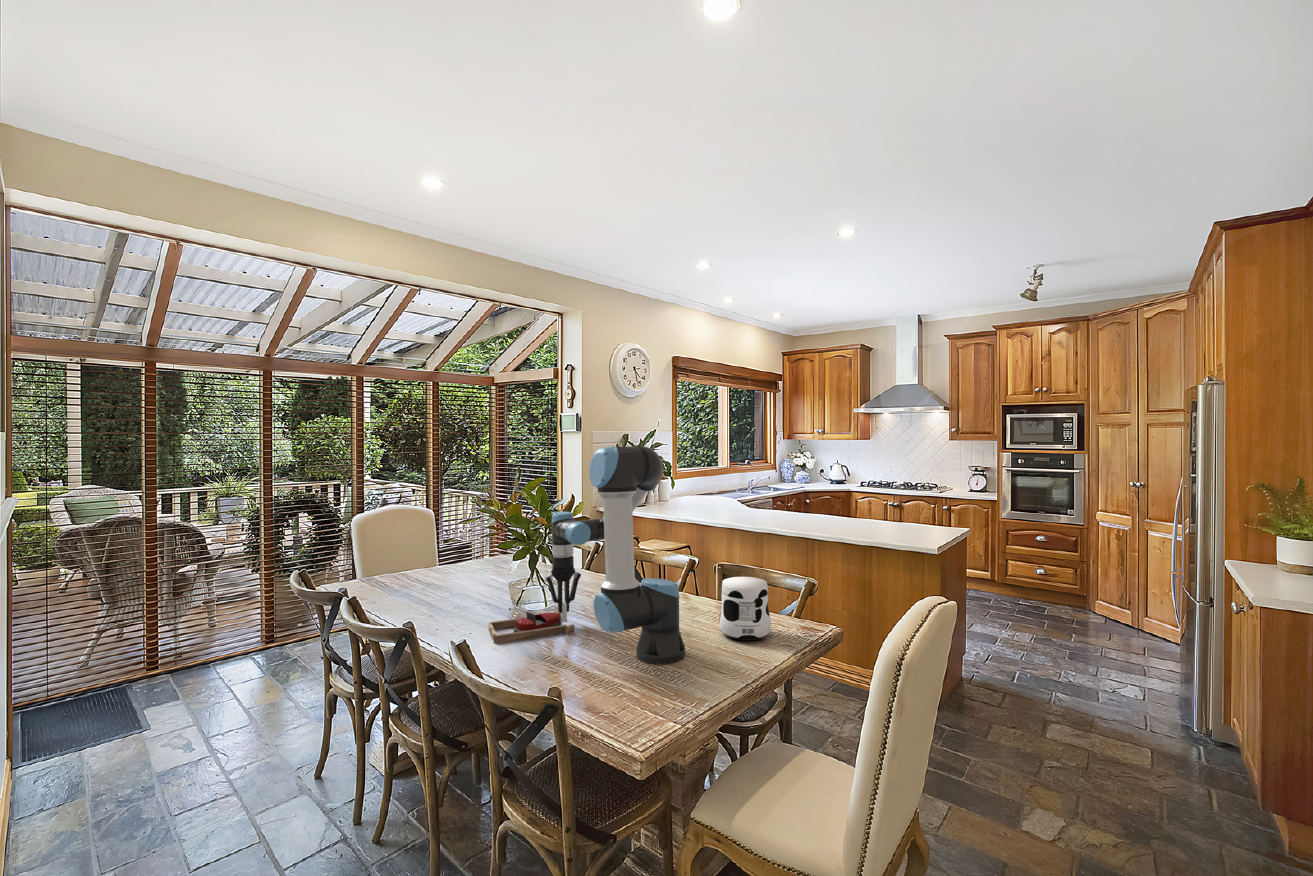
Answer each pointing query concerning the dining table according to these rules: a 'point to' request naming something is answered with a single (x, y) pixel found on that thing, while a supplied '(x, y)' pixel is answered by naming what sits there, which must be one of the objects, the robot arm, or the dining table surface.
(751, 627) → the milk container
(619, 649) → the dining table surface
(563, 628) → the cradle
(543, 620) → the bumper car
